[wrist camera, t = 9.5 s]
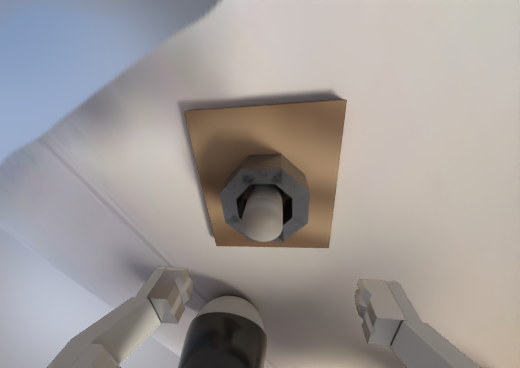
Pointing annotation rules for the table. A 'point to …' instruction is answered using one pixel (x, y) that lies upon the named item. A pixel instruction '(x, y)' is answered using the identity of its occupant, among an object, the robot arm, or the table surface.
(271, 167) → the ring
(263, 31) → the table surface
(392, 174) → the table surface
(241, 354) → the black rounded piece
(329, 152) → the piston stand
